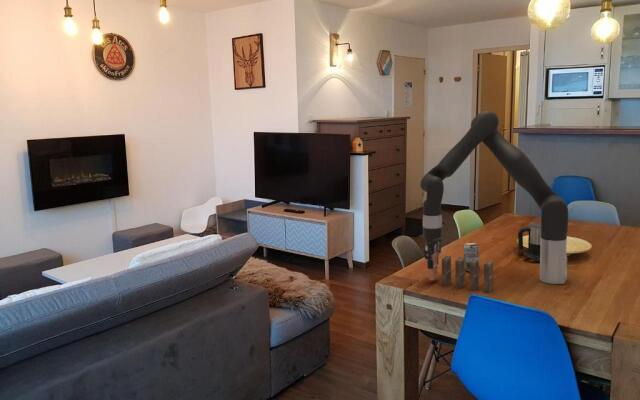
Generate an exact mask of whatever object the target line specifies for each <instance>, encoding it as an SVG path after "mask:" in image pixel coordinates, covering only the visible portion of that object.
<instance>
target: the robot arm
mask: <svg viewBox="0 0 640 400" xmlns="http://www.w3.org/2000/svg"><path fill="white" fill-rule="evenodd" d="M499 123H500V121H499V117H498V115H497V114H496V113H495V112H493V111H491V110H485V111H484V110H483V111H482V112H480V113H478V114H476V115H475V116H474V118H473V119H472V120H471V123H470V128H469V130H467V132H466V133H465V135H463V137H462V138H461V139H460V140H459V141H458V142H457V143H456V144H455V145H454V146H453V147H452V148H451V149H449V151H448V152H446V154H445V155H444V157H443V158H442V159H441V160H440V161H439V162H438V163H437V164H436V166H434V167H432V169H430V170H429V171H428V172H426V173H425V175H424V176H423V177H422V178H421V180H420V188H421V190H422V191H423V192H425V193H426V199H424V201H423V203H422V210H423V211H422V212H423V213H422V215H423V216H422V237H423V238H424V239H426V242H425V245H423V246H422V247H423V255H424V259H425V260H426V262H427V269H433V257H434V254H435V251H437V255H438V257H437V262H438V263H439V256H440V254H441V253H442V243H443V242H442V238H443V216H442V202H443V196H444V191H445V188H444V187H445V186H444V182H443V181H444V180H445V179H447V178H450V177H452V176H453V175H454V173H455V172H457V170H458V169H459V168H460V166H461V165H462V164H463V163H464V162H465V161H466V160H467V158H468V157H469V156H470V155H471V154H472V152H473V151H474V150H475V148H476V147H478V145H480V143H483V144H484V145H485V146H486V148H488V150H490V151H491V154H493V156H494V157H495V159H497V161H498V162H499V164H500V165H501V166H502V167H503V168H504V170H505V171H506V173H507V174H508V175H509V176H510V177H511V178H512V179H513V180H514V182H515V183H517V184H518V185H519V186H520V187H521V188H522V189H523V190H525V191H526V192H527V193H528V194H529V195H530V196H531V197H532V199H533V200H534V201H535V203H536V204H537V206H538V207H539V209H540V212H541V216H540V217H541V219H540V220H541V222H540V223H541V246H540V261H539V281H541V282H542V283H546V284H550V285H565V283H566V281H567V277H568V276H567V273H568V256H567V241H568V240H567V238H568V229H569V228H568V226H569V207H568V205H567V203H566V201H565V200H564V199H563V198H562V197H560V195H558V193H556V192H555V191H554V189H552V188H551V187H550V185H548V183H547V182H546V181H545V179H544V178H543V177H542V175H541V174H540V172H539V171H538V169H537V168H536V166H535V165H534V163H533V162H532V161H531V160H530V158H529V157H528V156H527V155H526V154H525V153H524V152H523V151H522V150H521V149H519V148H518V147H517V146H516V145H514V144H513V143H512V142H510V141H508V139H506V138H505V137H504V136H503V135H502V133H501V132H500V131H499V130H498V127H499V125H500V124H499ZM431 251H433V252H431ZM431 254H432V256H431Z"/></svg>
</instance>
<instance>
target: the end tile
mask: <svg viewBox="0 0 640 400" xmlns="http://www.w3.org/2000/svg"><path fill="white" fill-rule="evenodd" d="M431 252H433V251H431ZM431 256H432V254H431ZM437 257H438V258H439V256H438V255H437V251H435V254H434V257H433V269H428V268H427V269H428V276H427V277H428V281H434V280H436V279H437V278H438V275H439V273H438V272H439V271H438V270H439V267H438V265H439V261H438V262H437Z"/></svg>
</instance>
